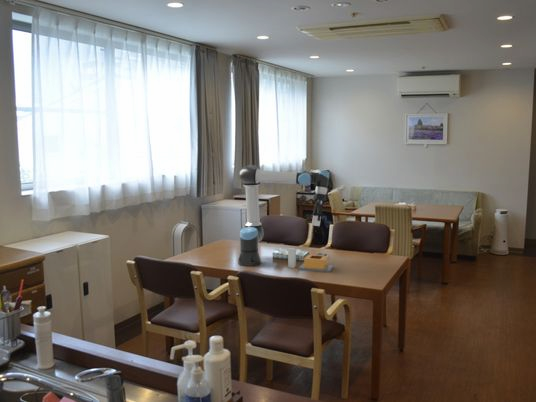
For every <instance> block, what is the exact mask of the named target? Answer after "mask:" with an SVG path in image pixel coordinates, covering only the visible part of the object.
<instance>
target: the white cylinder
mask: <svg viewBox="0 0 536 402" xmlns="http://www.w3.org/2000/svg"><path fill="white" fill-rule="evenodd" d="M296 266H297V248H296V247H289V248H288V249H287V268H289V269H290V268H291V269H292V268H293V269H294V268H296Z"/></svg>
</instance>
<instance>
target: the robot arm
mask: <svg viewBox="0 0 536 402" xmlns="http://www.w3.org/2000/svg"><path fill="white" fill-rule="evenodd" d="M238 178H239V180H240V181H241V182H242V186H243V187H244V188H245V189H244V190H245V205H246V208H245V209H246V219H247V220H246V221H247V222H246V223H245V225H244V227H243V228H241V230H240V231H239V238H240V240H239V241H240V242H239V245H240V246H239V247H240V253H239V256H238V259H237V261H238V265H240V266H243V267H255V266H259V265H260V264H261V263H262V260H261V257H260V254H259V243H260V242H261V241H262V240H263V239H264V236H265V232H264V229H263V223H262V222H260V204H259V203H260V202H259V200H260V199H259V187H260V185H261V183H269V184H271V183H272V184H285V185H286V184H289V185H301V186H308V185H309V184H314V185H316V186H315V190H314V197H313V199H315V201H314V202H315V203H314V207H313V210H312V211H313V212H312V221H311V225H312V226H315V227H320V226H321V219H322V216H323V208H324V206H323V205H324V201H326V200H327V192H328V186H329V180H330V172H329V171H328V170H324V169H318V171H317V172H313V171H307V170H300V171H299V172H295V171H293V172H291V171H275V170H261V169H260V168H259V167H258V166H257V165H255V164H249V165H246V166H242V168H241V169H240V170H239V172H238Z"/></svg>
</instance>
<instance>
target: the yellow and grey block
mask: <svg viewBox="0 0 536 402" xmlns="http://www.w3.org/2000/svg"><path fill="white" fill-rule="evenodd" d="M297 268H298V271H307V272H317V273H318V272H319V273H331V271H332V270H333V269H334V268H335V265H333V264H329V256H328V255H321V254H307V255H306V256H305V257H304V258H303V263H302V264H300V266H298V267H297Z"/></svg>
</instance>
